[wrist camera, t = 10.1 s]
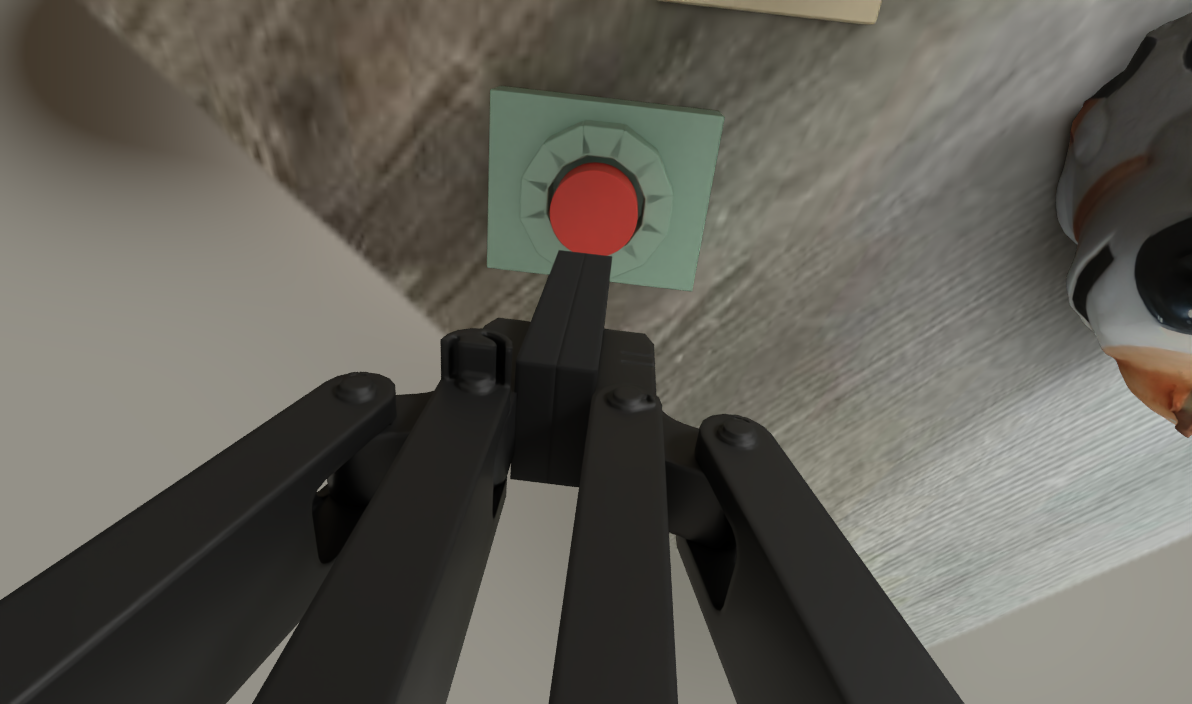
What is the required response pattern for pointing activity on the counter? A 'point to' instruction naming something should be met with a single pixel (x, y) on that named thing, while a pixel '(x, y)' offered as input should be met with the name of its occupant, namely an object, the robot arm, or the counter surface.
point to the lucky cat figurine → (1137, 220)
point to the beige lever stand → (801, 8)
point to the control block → (612, 136)
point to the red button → (594, 209)
